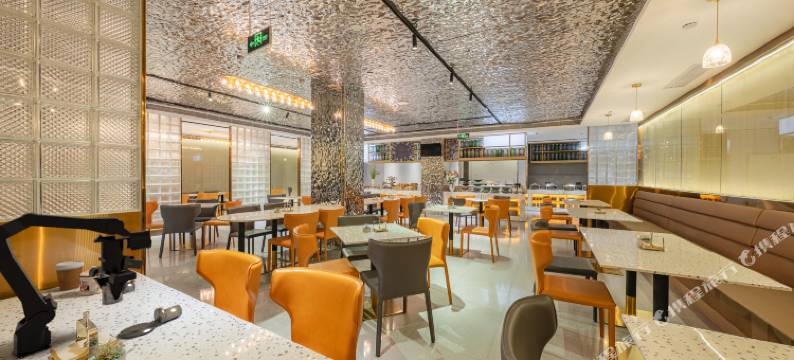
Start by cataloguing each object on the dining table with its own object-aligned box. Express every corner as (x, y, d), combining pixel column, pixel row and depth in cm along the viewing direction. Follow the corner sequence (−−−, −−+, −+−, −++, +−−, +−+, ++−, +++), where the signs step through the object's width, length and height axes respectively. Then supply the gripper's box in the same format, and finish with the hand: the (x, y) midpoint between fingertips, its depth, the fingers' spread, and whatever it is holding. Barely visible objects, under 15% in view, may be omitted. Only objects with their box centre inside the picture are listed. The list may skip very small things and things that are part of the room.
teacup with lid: (74, 294, 134) (74, 268, 134) (100, 287, 143) (100, 262, 143) (89, 298, 130) (89, 271, 130) (115, 290, 139) (115, 265, 139)
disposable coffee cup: (87, 287, 143) (87, 262, 143) (57, 293, 135) (57, 267, 134) (81, 283, 148) (81, 259, 148) (52, 289, 140) (52, 263, 140)
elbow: (106, 306, 100) (106, 288, 100) (99, 303, 103) (99, 285, 103) (137, 297, 108) (137, 280, 108) (130, 294, 110) (130, 278, 110)
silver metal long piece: (128, 341, 96) (128, 323, 96) (114, 334, 100) (114, 318, 100) (185, 318, 112) (185, 303, 112) (171, 313, 116) (171, 299, 116)
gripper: (154, 251, 107) (154, 294, 107) (127, 245, 115) (127, 286, 115) (114, 258, 97) (114, 306, 97) (87, 252, 105) (88, 296, 105)
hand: (112, 298), depth 104 cm, fingers closed on elbow, 5 cm apart
